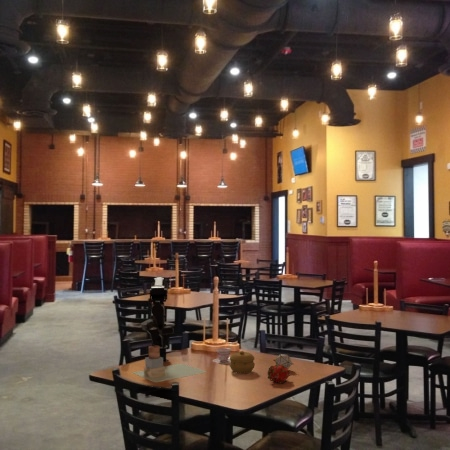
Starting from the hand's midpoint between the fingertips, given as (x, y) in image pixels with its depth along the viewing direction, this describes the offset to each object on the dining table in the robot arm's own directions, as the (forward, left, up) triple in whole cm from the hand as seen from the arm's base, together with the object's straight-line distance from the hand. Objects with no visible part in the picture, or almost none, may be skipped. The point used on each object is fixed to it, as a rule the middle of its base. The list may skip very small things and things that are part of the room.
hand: (158, 346), depth 247 cm
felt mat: (+4, +3, -13) cm, 13 cm away
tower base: (+4, -5, -12) cm, 14 cm away
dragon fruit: (+48, +32, -13) cm, 59 cm away
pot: (+25, +30, -13) cm, 41 cm away
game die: (+35, +47, -13) cm, 60 cm away
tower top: (+4, -5, -8) cm, 10 cm away
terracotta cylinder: (+4, -5, -4) cm, 8 cm away
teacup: (+2, +37, -13) cm, 39 cm away
